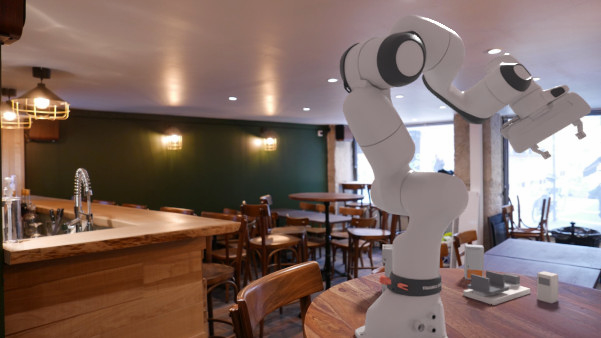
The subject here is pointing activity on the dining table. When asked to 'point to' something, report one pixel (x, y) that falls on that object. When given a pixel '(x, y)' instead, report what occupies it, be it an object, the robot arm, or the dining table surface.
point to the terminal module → (547, 287)
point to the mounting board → (499, 295)
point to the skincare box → (473, 261)
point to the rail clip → (493, 283)
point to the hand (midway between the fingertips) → (565, 148)
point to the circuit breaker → (387, 261)
